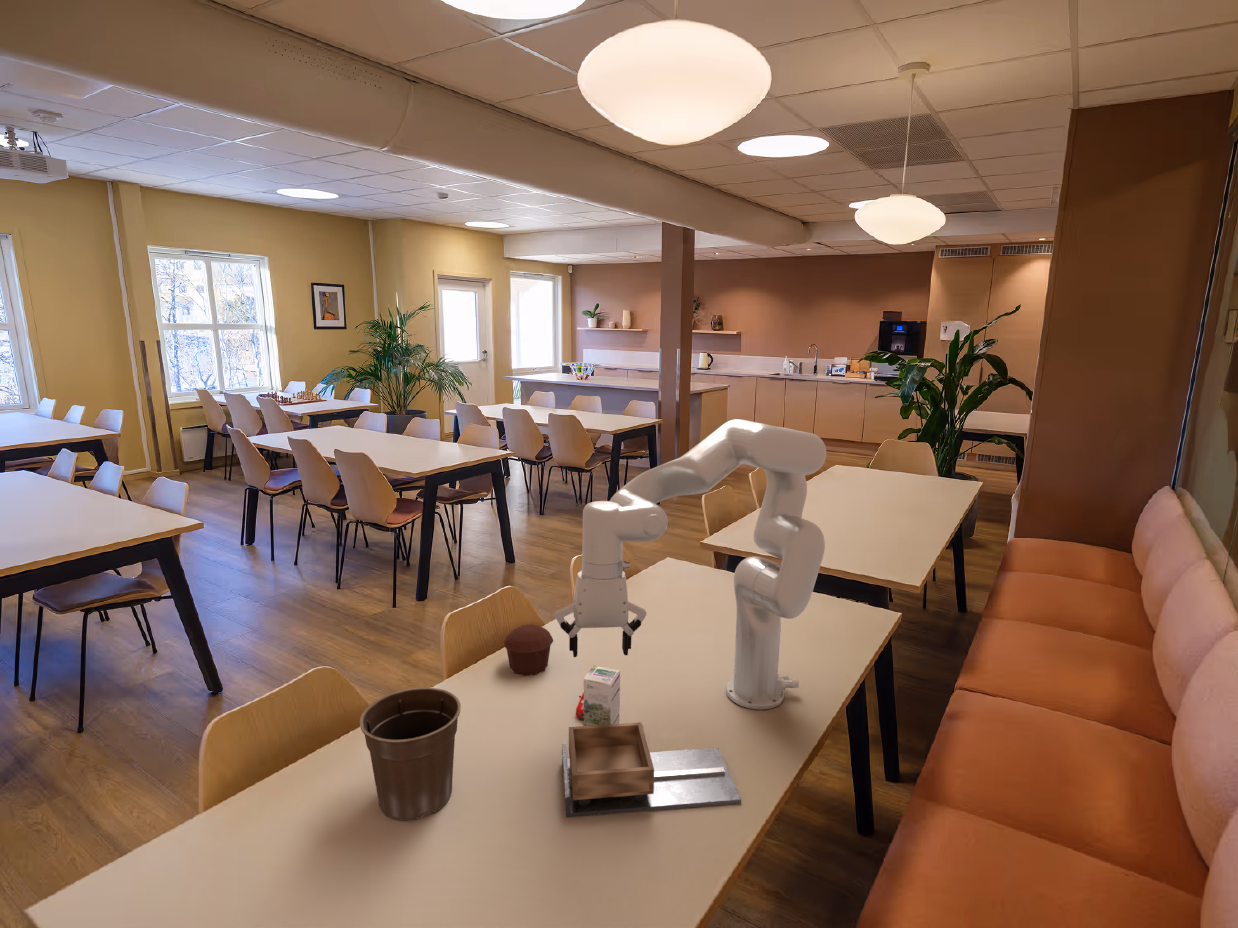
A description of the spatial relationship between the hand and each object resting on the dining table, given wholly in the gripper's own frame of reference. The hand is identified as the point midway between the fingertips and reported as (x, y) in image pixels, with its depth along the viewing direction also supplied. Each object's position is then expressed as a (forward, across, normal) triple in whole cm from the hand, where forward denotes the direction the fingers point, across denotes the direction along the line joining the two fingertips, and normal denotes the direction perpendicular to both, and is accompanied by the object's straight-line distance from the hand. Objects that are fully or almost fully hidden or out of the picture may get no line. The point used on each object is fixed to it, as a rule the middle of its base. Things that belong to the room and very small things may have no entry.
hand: (600, 652), depth 126 cm
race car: (+19, 0, -13) cm, 23 cm away
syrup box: (+19, -1, 0) cm, 19 cm away
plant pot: (+20, +33, +12) cm, 40 cm away
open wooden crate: (+19, -1, +13) cm, 23 cm away
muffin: (+19, +14, -31) cm, 39 cm away
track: (+19, -8, +13) cm, 24 cm away
